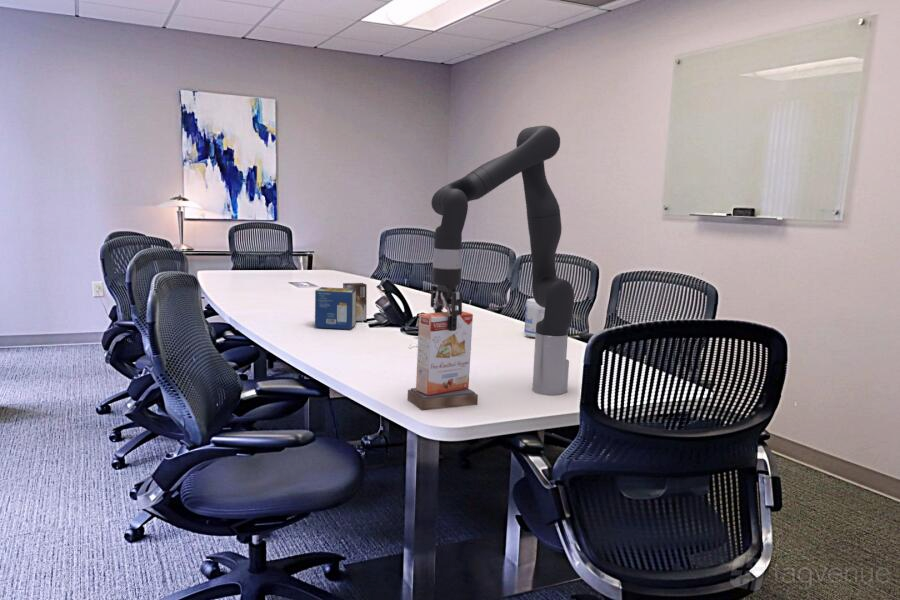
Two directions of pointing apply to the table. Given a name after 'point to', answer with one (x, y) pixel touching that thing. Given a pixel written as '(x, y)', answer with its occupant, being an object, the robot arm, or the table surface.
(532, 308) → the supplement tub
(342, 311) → the protein box
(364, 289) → the coffee box
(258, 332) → the table surface
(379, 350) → the table surface
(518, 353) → the table surface
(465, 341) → the cracker box
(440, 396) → the podium
